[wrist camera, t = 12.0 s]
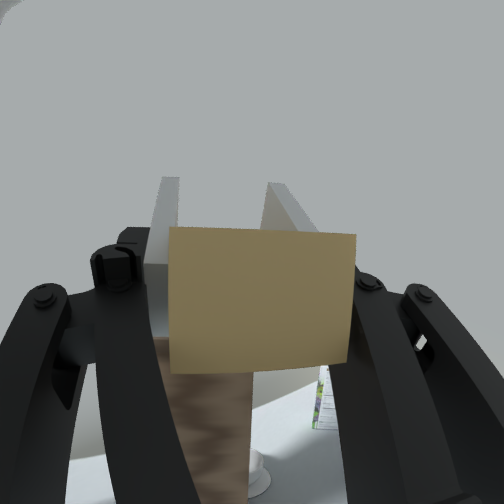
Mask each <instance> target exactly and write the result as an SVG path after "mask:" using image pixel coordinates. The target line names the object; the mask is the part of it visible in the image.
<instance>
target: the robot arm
mask: <svg viewBox="0 0 504 504" xmlns="http://www.w3.org/2000/svg"><path fill="white" fill-rule="evenodd" d="M21 1H24V0H0V24H1V22H2V19H3V17H4V15H5V13H6V12H7V11H9V10H10V9H11V8H12V7H13V6H15V5H17V4H18V3H20V2H21ZM178 194H179V177H162V180H161V184H160V188H159V192H158V196H157V200H156V205H155V209H154V213H153V218H152V223H151V227H150V228H149V227H127V228H126V229H125V230H124V231H122V232H121V233H120V234H119V237H118V240H117V244H114V245H108V246H105V247H102V248H100V249H98V250H97V251H96V252H95V253H93V254H92V256H91V259H90V263H91V269H92V275H93V280H94V286H95V288H94V289H92V290H89V291H86V292H83V293H78V294H73V295H67V292H66V290H65V288H63V287H62V286H61V285H58V284H54V283H47V284H42V285H39V286H36V287H35V288H33V289H32V290H30V291H29V292H28V293H27V295H26V296H25V297H24V299H23V301H22V303H21V305H20V306H19V308H18V310H17V312H16V314H15V316H14V318H13V320H12V322H11V324H10V326H9V328H8V330H7V332H6V334H5V336H4V338H3V340H2V342H1V344H0V504H65V496H66V485H67V476H68V467H69V460H70V452H71V445H72V439H73V433H74V427H75V421H76V416H77V411H78V406H79V401H80V396H81V392H82V387H83V383H84V378H85V374H86V370H87V365H88V364H92V363H96V377H97V388H98V399H99V408H100V417H101V425H102V432H103V439H104V445H105V452H106V457H107V463H108V468H109V473H110V478H111V483H112V487H113V492H114V496H115V500H116V504H201V502H200V499H199V496H198V494H197V491H196V488H195V486H194V483H193V480H192V477H191V474H190V471H189V468H188V466H187V463H186V460H185V457H184V453H183V450H182V447H181V444H180V441H179V438H178V434H177V431H176V428H175V424H174V421H173V417H172V414H171V410H170V406H169V403H168V399H167V395H166V391H165V388H164V384H163V380H162V376H161V371H160V367H159V363H158V359H157V354H156V350H155V345H154V340H153V337H169V317H168V256H169V227H177V220H178V218H177V217H178ZM260 230H281V231H303V232H319V231H318V230H317V229H316V227H315V226H314V225H313V223H312V222H311V221H310V219H309V217H308V216H307V215H306V213H305V212H304V210H303V209H302V208H301V206H300V205H299V203H298V202H297V201H296V199H295V198H294V197H293V195H292V194H291V193H290V191H289V190H288V188H287V187H286V186H285V184H280V183H268V186H267V193H266V198H265V204H264V210H263V216H262V221H261V228H260ZM422 334H423V335H424V337H425V338H426V339H427V342H426V343H425V345H424V346H423V348H422V349H421V350H419V349H418V348H417V347H416V344H417V342H418V340H419V339H420V338H421V336H422ZM328 368H329V373H330V379H331V385H332V391H333V397H334V404H335V410H336V416H337V423H338V430H339V437H340V444H341V451H342V459H343V466H344V474H345V483H346V491H347V501H348V504H504V379H503V377H502V376H501V374H500V373H499V371H498V370H497V369H496V367H495V366H494V365H493V363H492V362H491V361H490V359H489V358H488V357H487V355H486V354H485V353H484V351H483V350H482V349H481V347H480V346H479V345H478V344H477V342H476V341H475V340H474V339H473V337H472V336H471V335H470V333H469V332H468V331H467V330H466V329H465V327H464V326H463V325H462V324H461V322H460V321H459V320H458V319H457V318H456V317H455V315H454V314H453V313H452V312H451V311H450V309H449V308H448V307H447V306H446V305H445V303H444V302H443V301H442V300H441V299H440V298H439V297H438V295H437V294H436V293H434V292H433V291H432V290H431V289H429V288H428V287H427V286H424V285H422V284H410V285H409V286H408V287H407V288H406V291H405V293H404V294H398V293H393V292H388V291H387V290H386V288H385V286H384V284H383V283H382V282H381V281H380V280H379V279H377V278H376V277H374V276H372V275H370V274H367V273H363V272H360V271H359V269H358V268H357V267H356V265H355V276H354V291H353V304H352V315H351V326H350V336H349V345H348V353H347V361H346V363H339V364H331V365H328Z"/></svg>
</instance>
